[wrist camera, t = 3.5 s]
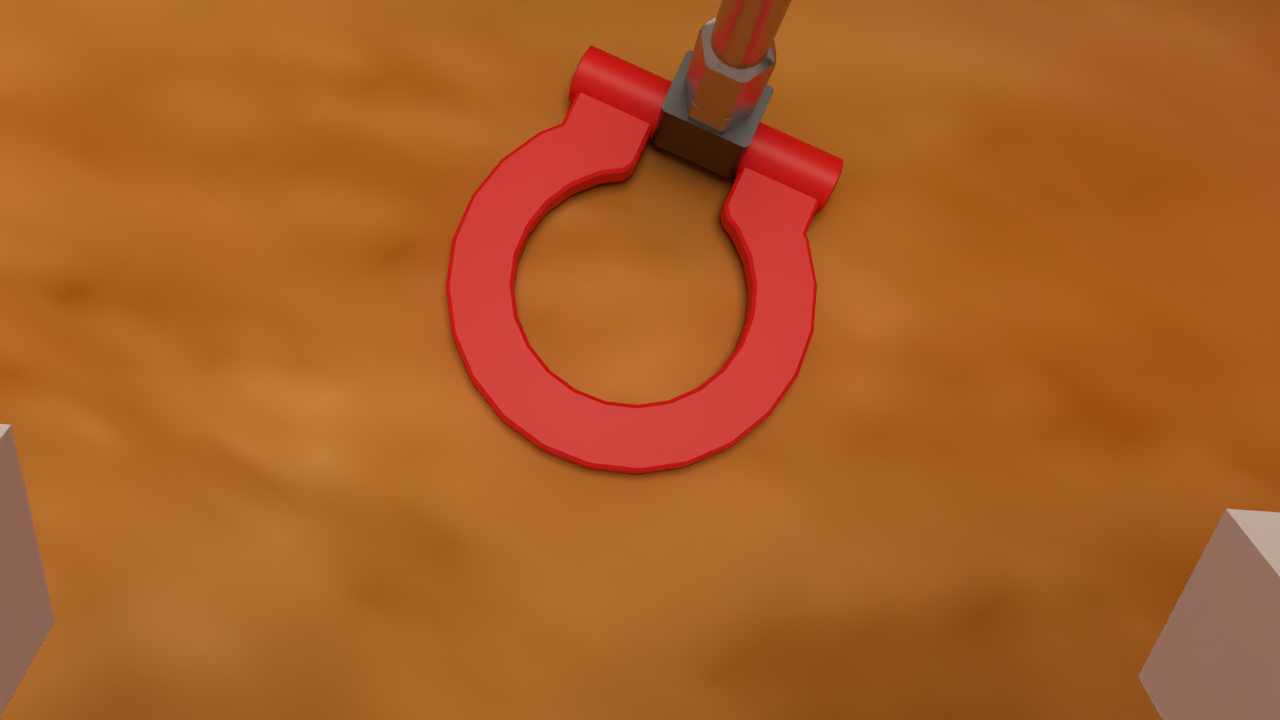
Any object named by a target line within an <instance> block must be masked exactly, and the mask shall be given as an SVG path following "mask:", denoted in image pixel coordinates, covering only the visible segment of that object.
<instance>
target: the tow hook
mask: <svg viewBox="0 0 1280 720" xmlns="http://www.w3.org/2000/svg"><path fill="white" fill-rule="evenodd" d="M790 3H791V0H722V2H721V5H720V8H719V11H718V14H717V17H716V18H714V19H713V20H711V21H709V22H708V23H707V24H705V25H704V26H703V27H702V28H701V30H700V31H699V34H698V37H697V41H696V44H695V47H694V51H688V52H687V53H686V55H685V57H684V59H683V61H682V63H681V66H680V68H679V70H678V72H677V74H676V76H675V78H674V80H673V82H671V81H669V80H666V79H664V78H662V77H660V76H658V75H655V74H653V73H651V72H649V71H647V70H644V69H642V68H640V67H638V66H636V65H633V64H631V63H629V62H627V61H625V60H622V59H620V58H618V57H616V56H614V55H611V54H609V53H607V52H605V51H603V50H600V49H598V48H596V47H594V46H590V47H589V49H588V50H587V51H586V52H585V54H584V55H583V57H582V58H581V60H580V62H579V64H578V66H577V68H576V70H575V73H574V75H573V78H572V81H571V86H570V91H569V101H571V102H572V104H571V106H570V108H569V110H568V112H567V114H566V116H565V118H564V120H563V123H562V124H560V125H558V126H555V127H552V128H550V129H547V130H544V131H542V132H539V133H538V134H537V135H535V136H534V137H532V138H531V139H530V140H528V141H527V142H525V143H524V144H523V145H521V146H520V147H518V148H517V149H516V150H514V151H513V152H511V153H510V154H509V155H507V156H506V157H504V158H503V159H502V160H501V161H500V162H499V163H498V165H497V166H496V167H495V168H494V169H493V171H492V172H491V173H490V174H489V176H488V177H487V178H486V179H485V180H484V182H483V183H482V184H481V185H480V187H479V188H478V189H477V190H476V191H475V193H474V194H473V195H472V197H471V199H470V201H469V204H468V206H467V208H466V210H465V213H464V215H463V217H462V219H461V222H460V224H459V226H458V228H457V231H456V233H455V235H454V237H453V241H452V248H451V255H450V262H449V269H448V276H447V283H446V290H447V298H448V305H449V313H450V321H451V329H452V335H453V337H454V340H455V342H456V344H457V347H458V349H459V352H460V354H461V356H462V359H463V361H464V363H465V366H466V368H467V371H468V373H469V375H470V378H471V380H472V382H473V384H474V385H475V387H476V388H477V389H478V391H479V392H480V393H481V394H482V396H483V397H484V398H485V399H486V401H487V402H488V403H489V405H490V406H491V407H492V408H493V410H494V411H495V412H496V413H497V415H498V416H499V417H500V418H501V420H502V421H503V422H504V423H506V424H507V425H508V426H510V427H511V428H512V429H514V430H515V431H516V432H518V433H519V434H520V435H522V436H523V437H524V438H526V439H527V440H528V441H530V442H531V443H532V444H534V445H535V446H536V447H538V448H539V449H541V450H542V451H544V452H547V453H549V454H552V455H554V456H557V457H559V458H562V459H564V460H567V461H569V462H572V463H574V464H577V465H579V466H582V467H584V468H587V469H593V470H602V471H611V472H619V473H628V474H643V473H650V472H656V471H663V470H670V469H676V468H683V467H686V466H688V465H691V464H693V463H695V462H697V461H700V460H702V459H704V458H707V457H709V456H711V455H713V454H716V453H718V452H720V451H722V450H725V449H727V448H729V447H731V446H732V445H734V444H735V443H736V442H737V441H739V440H740V439H741V438H742V437H744V436H745V435H746V434H747V433H748V432H750V431H751V430H752V429H753V428H755V427H756V426H757V425H758V424H759V423H761V422H762V421H763V420H764V419H766V418H767V417H768V416H769V415H770V414H771V413H772V411H773V410H774V409H775V407H776V406H777V404H778V403H779V402H780V400H781V399H782V397H783V396H784V394H785V393H786V392H787V390H788V389H789V387H790V386H791V385H792V383H793V382H794V380H795V379H796V378H797V376H798V373H799V370H800V368H801V365H802V362H803V359H804V357H805V354H806V351H807V348H808V345H809V343H810V340H811V337H812V334H813V330H814V317H815V304H816V291H817V283H816V278H815V273H814V267H813V262H812V257H811V251H810V246H809V241H808V238H807V236H806V233H807V230H808V228H809V226H810V223H811V221H812V219H813V216H814V214H815V212H816V213H819V212H820V211H821V210H822V209H823V207H824V206H825V204H826V203H827V201H828V199H829V198H830V196H831V194H832V192H833V190H834V188H835V185H836V183H837V181H838V179H839V176H840V174H841V171H842V167H843V159H840V158H838V157H836V156H834V155H832V154H829V153H827V152H825V151H823V150H821V149H818V148H816V147H814V146H812V145H810V144H807V143H805V142H803V141H801V140H798V139H796V138H794V137H792V136H790V135H787V134H785V133H783V132H781V131H779V130H776V129H774V128H772V127H770V126H768V125H765V124H763V123H761V122H760V120H761V118H762V116H763V113H764V111H765V109H766V107H767V104H768V102H769V100H770V98H771V96H772V93H773V89H772V87H771V86H769V85H767V82H768V80H769V78H770V76H771V74H772V72H773V70H774V68H775V65H776V51H775V43H774V38H775V36H776V34H777V31H778V29H779V27H780V25H781V23H782V20H783V18H784V16H785V14H786V11H787V9H788V7H789V5H790ZM650 137H651V138H653V143H654V144H655V145H656V146H658V147H660V148H662V149H664V150H667V151H669V152H671V153H673V154H675V155H678V156H680V157H682V158H684V159H686V160H689V161H691V162H693V163H695V164H697V165H700V166H702V167H704V168H706V169H709V170H711V171H713V172H715V173H717V174H720V175H722V176H724V177H726V178H732V177H733V176H734V175H735V176H736V179H735V181H734V183H733V185H732V188H731V190H730V192H729V194H728V197H727V199H726V201H725V203H724V205H723V208H722V210H721V212H720V218H721V223H722V226H723V228H724V229H725V230H726V231H727V232H728V234H729V235H730V236H731V238H732V240H733V243H734V245H735V247H736V249H737V251H738V253H739V255H740V258H741V260H742V262H743V266H744V271H745V277H746V283H747V288H748V299H747V310H746V321H745V324H744V327H743V330H742V332H741V335H740V338H739V340H738V343H737V345H736V348H735V350H734V351H733V353H732V354H731V356H730V357H729V358H728V360H727V361H726V362H725V364H724V365H723V367H722V368H721V369H720V371H719V372H717V373H716V374H715V375H714V376H712V377H711V378H710V379H709V380H707V381H706V382H705V383H704V384H702V385H701V386H700V387H699V388H697V389H695V390H692V391H690V392H688V393H685V394H683V395H681V396H678V397H676V398H674V399H671V400H669V401H663V402H656V403H649V404H642V405H632V404H624V403H615V402H607V401H603V400H601V399H598V398H596V397H593V396H591V395H588V394H586V393H583V392H581V391H578V390H576V389H574V388H573V387H572V386H570V385H569V384H568V383H566V382H565V381H563V380H562V379H561V378H559V377H558V376H557V375H555V374H554V373H553V372H551V371H550V370H549V369H548V367H547V366H546V365H545V364H544V362H543V361H542V360H541V359H540V357H539V356H538V355H537V354H536V352H535V351H534V350H533V349H532V347H531V346H530V344H529V342H528V340H527V337H526V335H525V333H524V330H523V328H522V326H521V323H520V321H519V319H518V316H517V309H516V302H515V295H514V288H515V281H516V273H517V266H518V261H519V259H520V257H521V254H522V252H523V250H524V247H525V245H526V243H527V240H528V238H529V236H530V234H531V233H532V232H533V230H534V229H535V228H536V227H537V225H538V224H539V223H540V222H541V220H542V219H543V218H544V217H545V215H546V214H547V213H548V212H549V211H550V210H552V209H553V208H554V207H556V206H557V205H559V204H560V203H561V202H563V201H564V200H565V199H567V198H568V197H569V196H571V195H572V194H575V193H577V192H580V191H582V190H585V189H588V188H590V187H593V186H595V185H598V184H602V183H610V182H619V181H624V180H625V179H626V178H628V177H629V176H631V175H632V174H633V172H634V170H635V168H636V166H637V163H638V161H639V159H640V157H641V155H642V153H643V151H644V149H645V146H646V144H647V142H648V140H649V138H650Z"/></svg>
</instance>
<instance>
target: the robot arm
mask: <svg viewBox="0 0 1280 720" xmlns="http://www.w3.org/2000/svg"><path fill="white" fill-rule="evenodd" d="M54 622H55V619H54V615H53V610H52V606H51V601H50V597H49V592H48V588H47V583H46V579H45V574H44V570H43V566H42V561H41V557H40V552H39V548H38V543H37V539H36V534H35V530H34V525H33V521H32V516H31V512H30V507H29V503H28V499H27V494H26V490H25V485H24V481H23V476H22V472H21V467H20V463H19V458H18V454H17V449H16V445H15V441H14V436H13V432H12V427H11V425H7V424H0V717H1V716H2V714H3V712H4V710H5V709H6V707H7V705H8V703H9V701H10V700H11V698H12V696H13V694H14V693H15V691H16V689H17V687H18V686H19V684H20V682H21V680H22V679H23V677H24V675H25V673H26V671H27V670H28V668H29V666H30V664H31V663H32V661H33V659H34V657H35V656H36V654H37V652H38V650H39V648H40V647H41V645H42V643H43V641H44V640H45V638H46V636H47V634H48V633H49V631H50V629H51V627H52V626H53V624H54ZM1138 678H1139V679H1140V681H1141V683H1142V685H1143V687H1144V688H1145V690H1146V692H1147V694H1148V695H1149V697H1150V699H1151V701H1152V702H1153V704H1154V706H1155V708H1156V710H1157V711H1158V713H1159V715H1160V717H1161V718H1162V720H1280V513H1279V512H1265V511H1250V510H1236V509H1226V510H1225V512H1224V513H1223V515H1222V517H1221V519H1220V521H1219V523H1218V525H1217V527H1216V529H1215V531H1214V533H1213V534H1212V536H1211V538H1210V540H1209V542H1208V544H1207V546H1206V548H1205V550H1204V552H1203V554H1202V555H1201V557H1200V559H1199V561H1198V563H1197V565H1196V567H1195V569H1194V571H1193V573H1192V575H1191V576H1190V578H1189V580H1188V582H1187V584H1186V586H1185V588H1184V590H1183V592H1182V594H1181V596H1180V598H1179V599H1178V601H1177V603H1176V605H1175V607H1174V609H1173V611H1172V613H1171V615H1170V617H1169V619H1168V620H1167V622H1166V624H1165V626H1164V628H1163V630H1162V632H1161V634H1160V636H1159V638H1158V640H1157V641H1156V643H1155V645H1154V647H1153V649H1152V651H1151V653H1150V655H1149V657H1148V659H1147V661H1146V662H1145V664H1144V666H1143V668H1142V670H1141V672H1140V674H1139V676H1138Z"/></svg>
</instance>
